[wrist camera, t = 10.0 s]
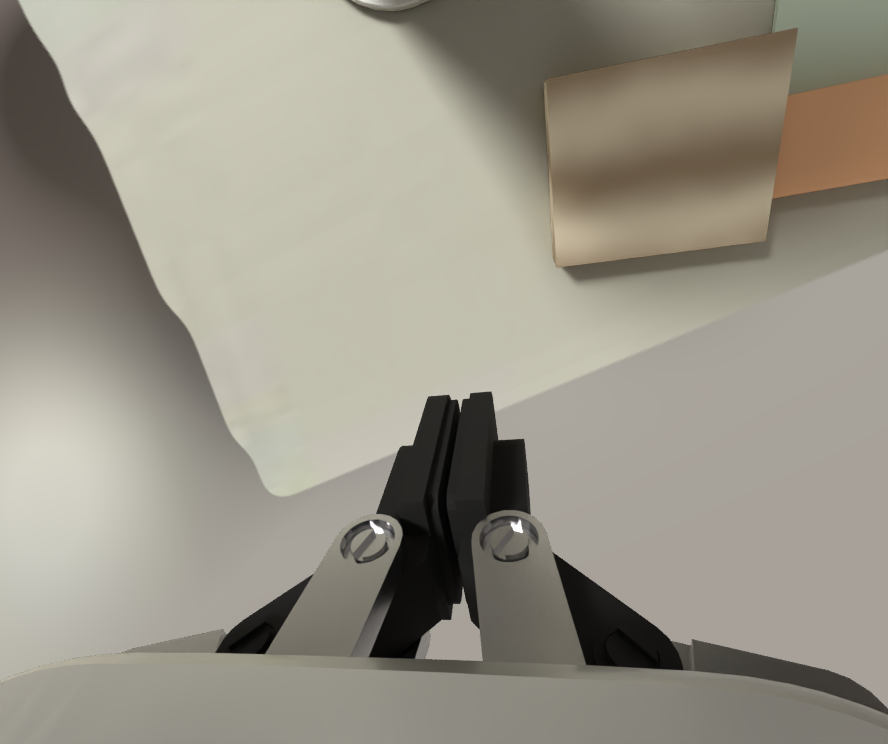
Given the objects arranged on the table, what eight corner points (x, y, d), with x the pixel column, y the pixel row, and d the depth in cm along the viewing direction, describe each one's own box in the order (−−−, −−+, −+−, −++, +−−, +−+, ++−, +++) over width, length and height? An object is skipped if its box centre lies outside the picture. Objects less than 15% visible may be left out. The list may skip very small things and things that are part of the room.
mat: (778, -19, 27) (781, -21, 26) (1032, -75, 24) (1039, -78, 24) (750, 193, 32) (753, 193, 32) (957, 163, 30) (962, 163, 29)
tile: (768, 99, 29) (783, 96, 27) (932, 64, 27) (958, 59, 26) (757, 195, 32) (771, 198, 30) (907, 170, 30) (929, 171, 28)
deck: (543, 84, 31) (546, 78, 28) (770, 38, 28) (798, 27, 25) (552, 258, 36) (556, 267, 33) (745, 233, 33) (765, 241, 31)
